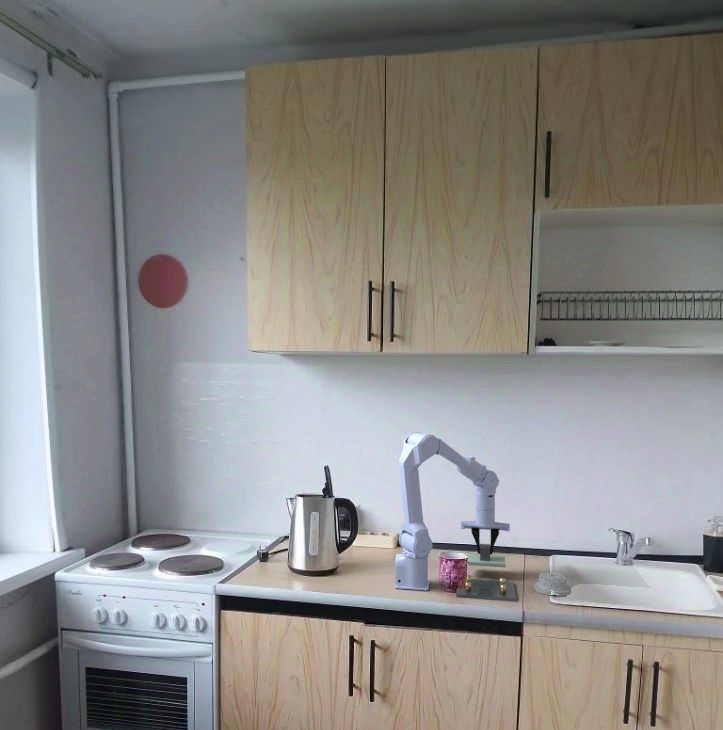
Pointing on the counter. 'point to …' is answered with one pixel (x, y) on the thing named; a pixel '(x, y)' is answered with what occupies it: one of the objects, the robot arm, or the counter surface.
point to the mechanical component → (552, 584)
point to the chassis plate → (488, 589)
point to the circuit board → (486, 563)
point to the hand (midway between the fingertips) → (485, 553)
